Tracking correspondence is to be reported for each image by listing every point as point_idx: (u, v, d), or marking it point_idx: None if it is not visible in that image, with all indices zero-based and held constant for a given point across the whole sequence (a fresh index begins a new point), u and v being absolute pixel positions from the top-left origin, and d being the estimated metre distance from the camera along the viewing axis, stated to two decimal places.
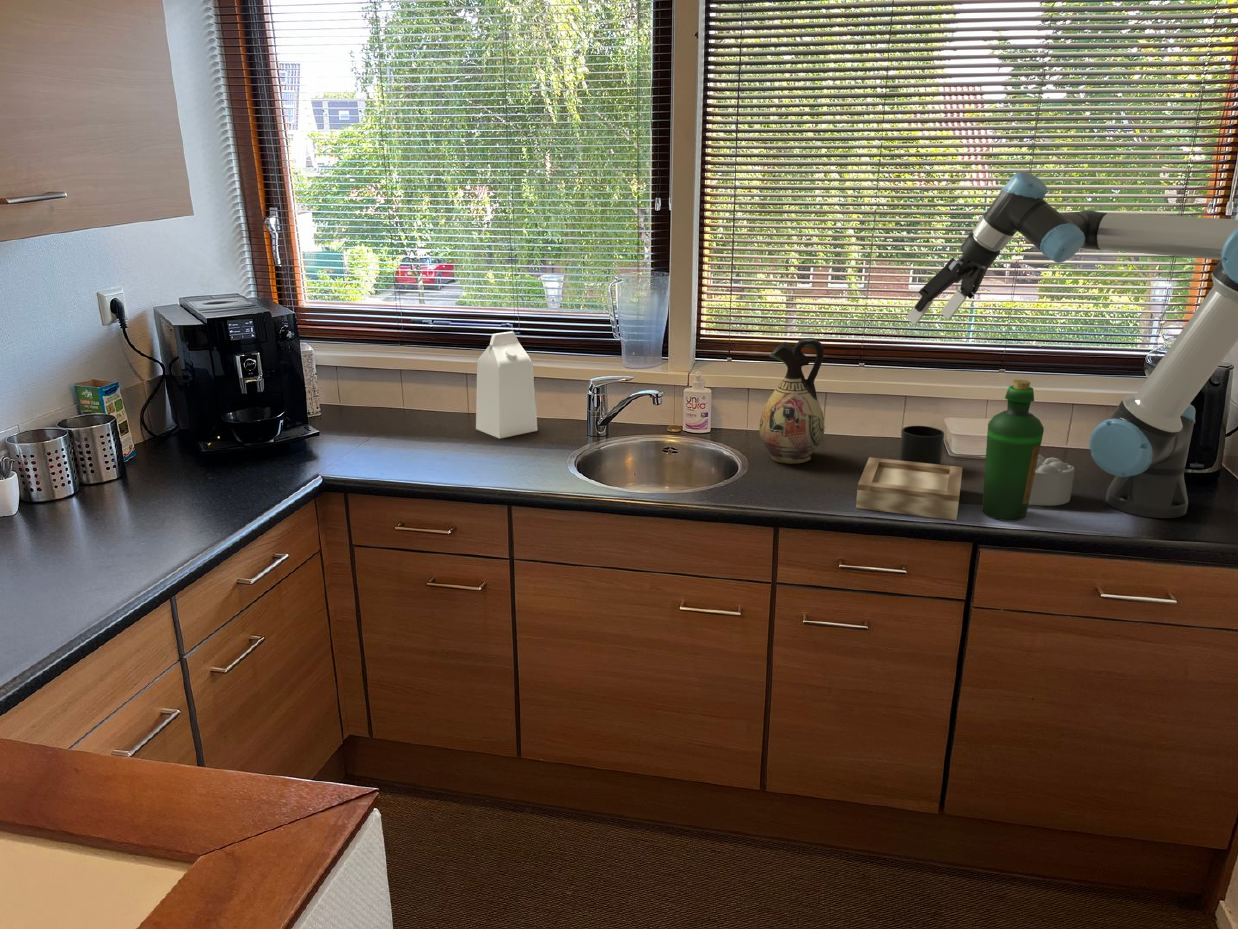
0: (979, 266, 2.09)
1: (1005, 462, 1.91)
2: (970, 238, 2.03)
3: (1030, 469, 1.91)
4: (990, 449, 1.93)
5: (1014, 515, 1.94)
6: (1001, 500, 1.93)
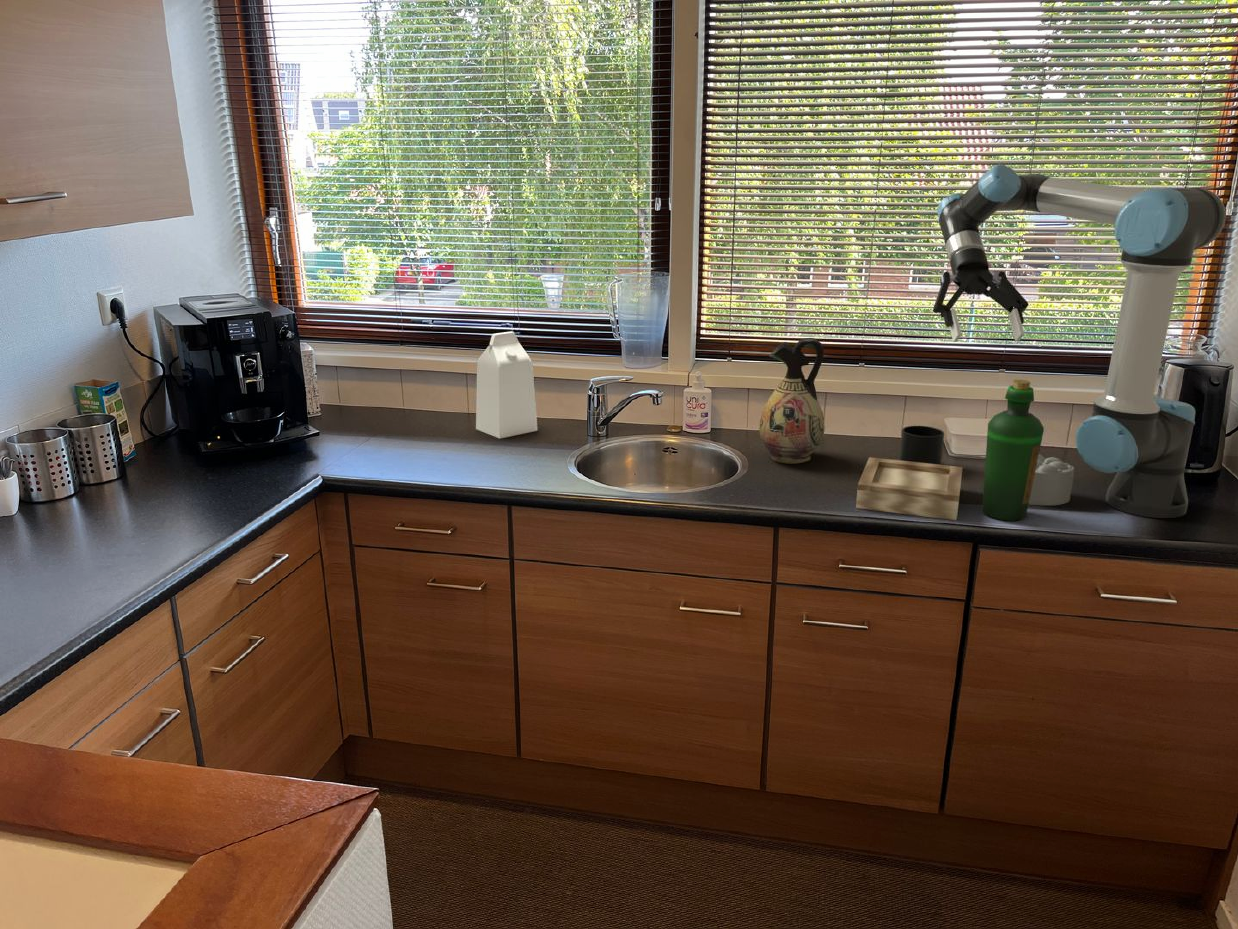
0: (986, 275, 2.08)
1: (1005, 462, 1.91)
2: None
3: (1030, 469, 1.91)
4: (990, 449, 1.93)
5: (1014, 515, 1.94)
6: (1001, 500, 1.93)
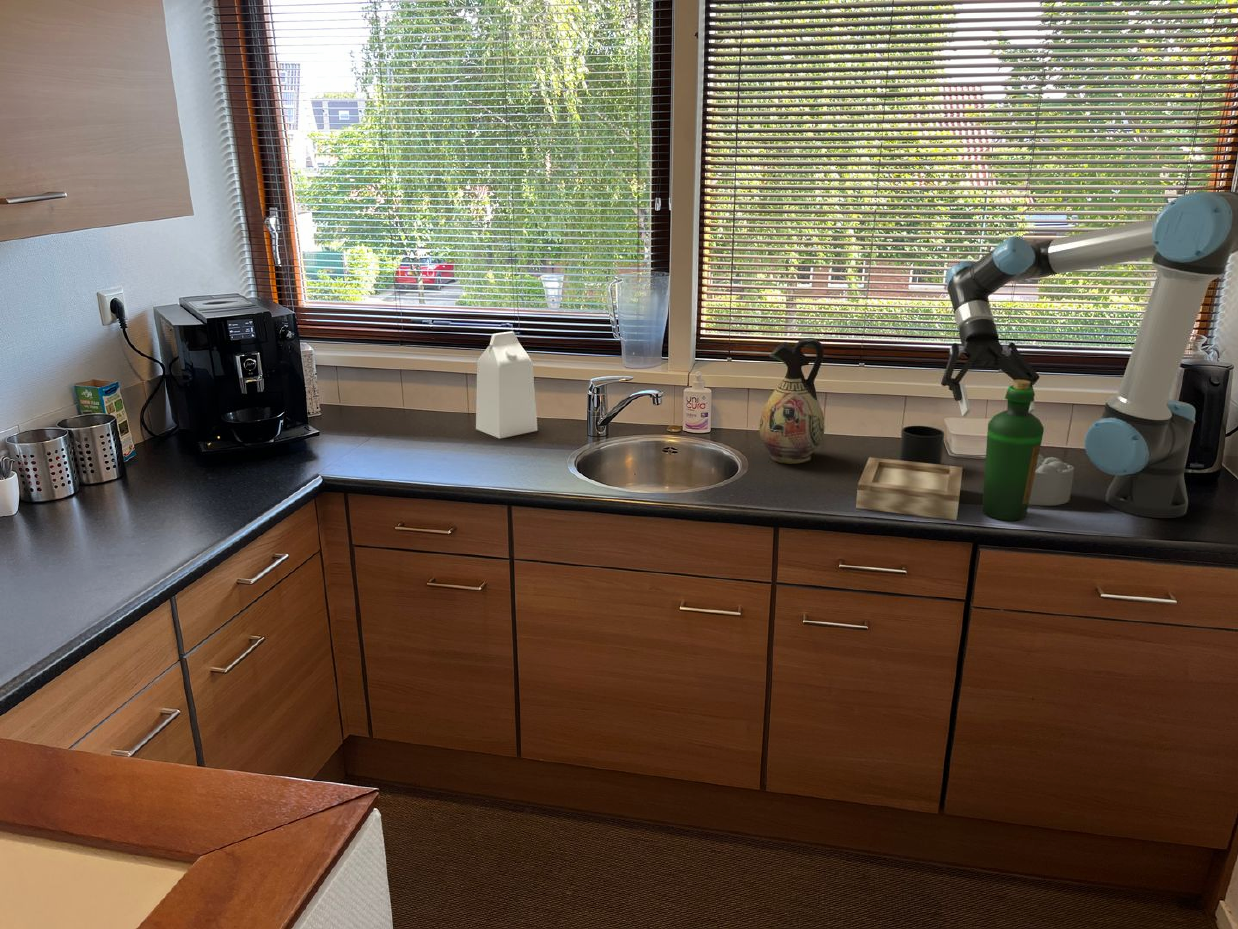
0: (996, 347, 2.04)
1: (1005, 462, 1.91)
2: None
3: (1030, 469, 1.91)
4: (990, 449, 1.93)
5: (1014, 515, 1.94)
6: (1001, 500, 1.93)
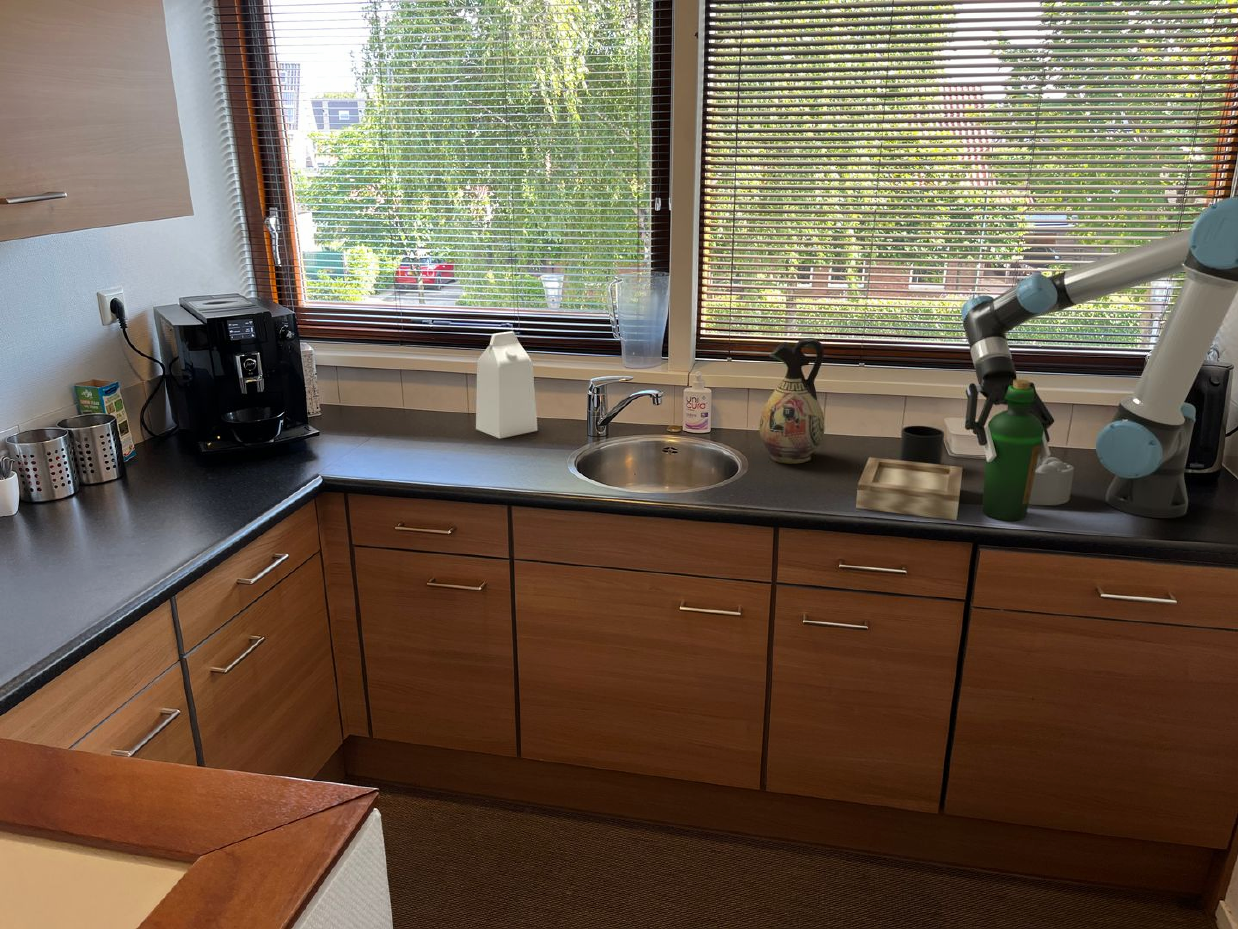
0: None
1: (1005, 462, 1.91)
2: None
3: (1030, 469, 1.91)
4: None
5: (1014, 514, 1.94)
6: (1001, 500, 1.93)
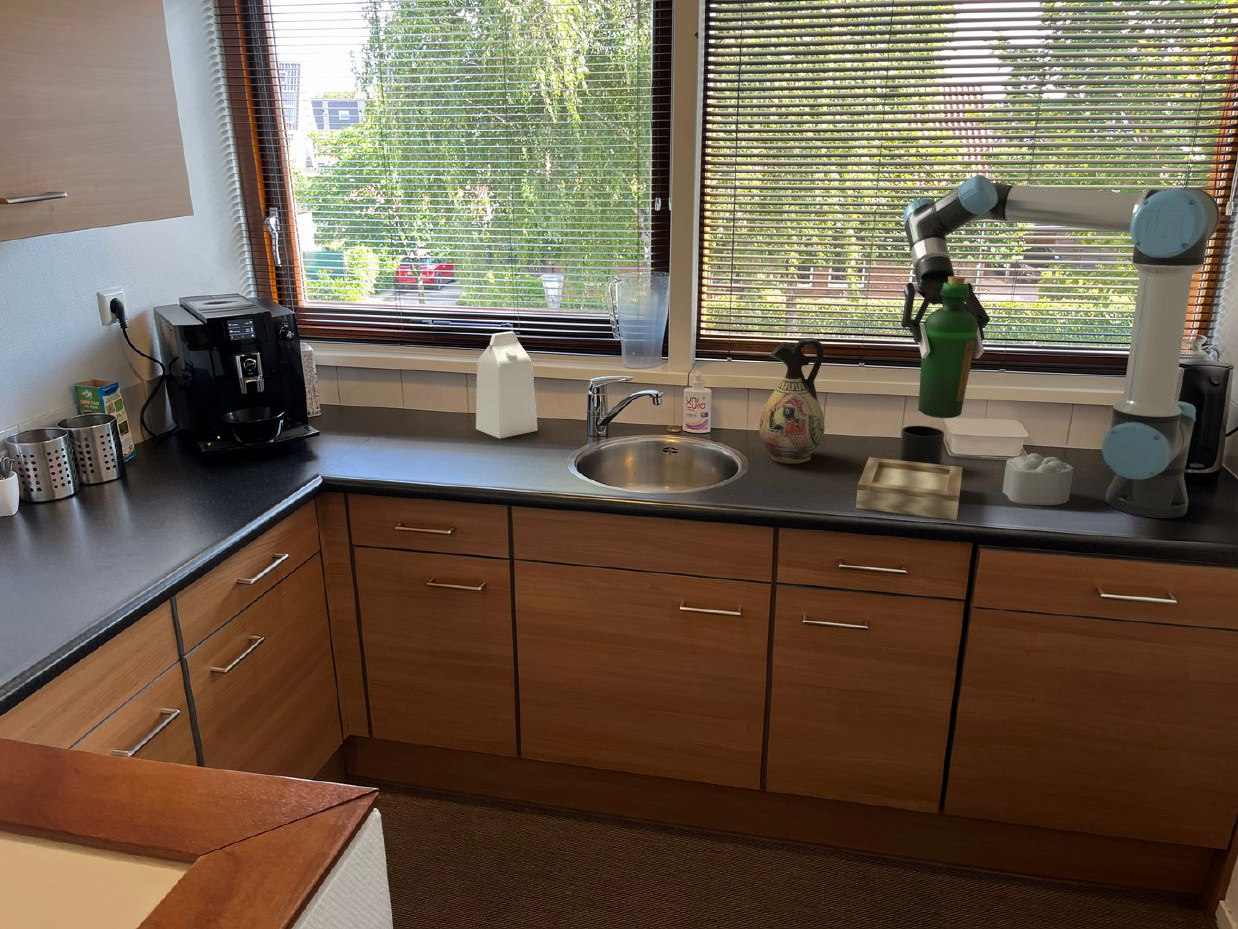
0: None
1: (939, 358, 1.92)
2: None
3: (964, 365, 1.92)
4: None
5: (948, 412, 1.95)
6: (935, 397, 1.95)
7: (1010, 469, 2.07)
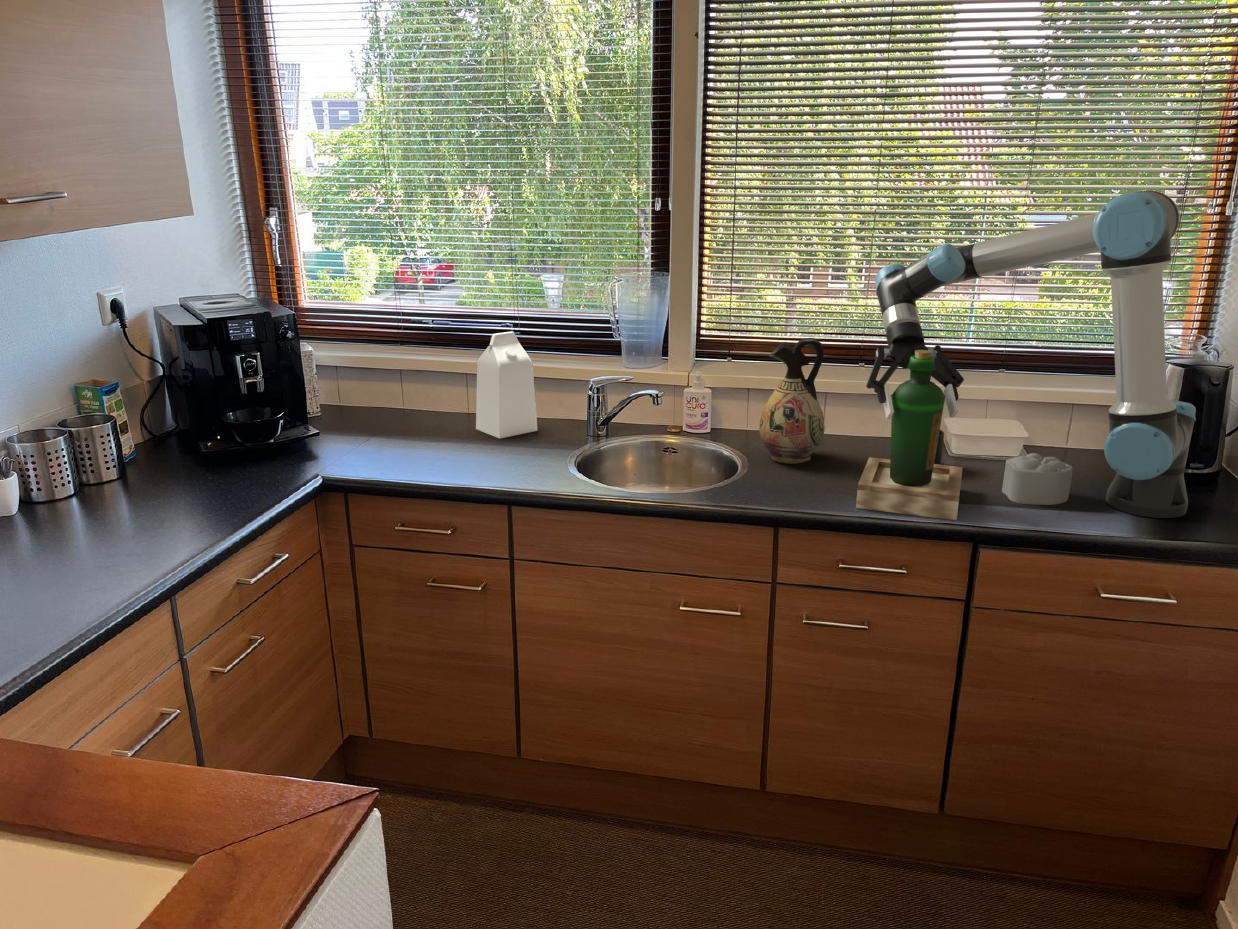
0: (922, 349, 2.05)
1: (907, 429, 1.98)
2: None
3: (931, 435, 1.98)
4: (894, 416, 2.01)
5: (917, 480, 2.02)
6: (905, 466, 2.01)
7: (1010, 469, 2.08)
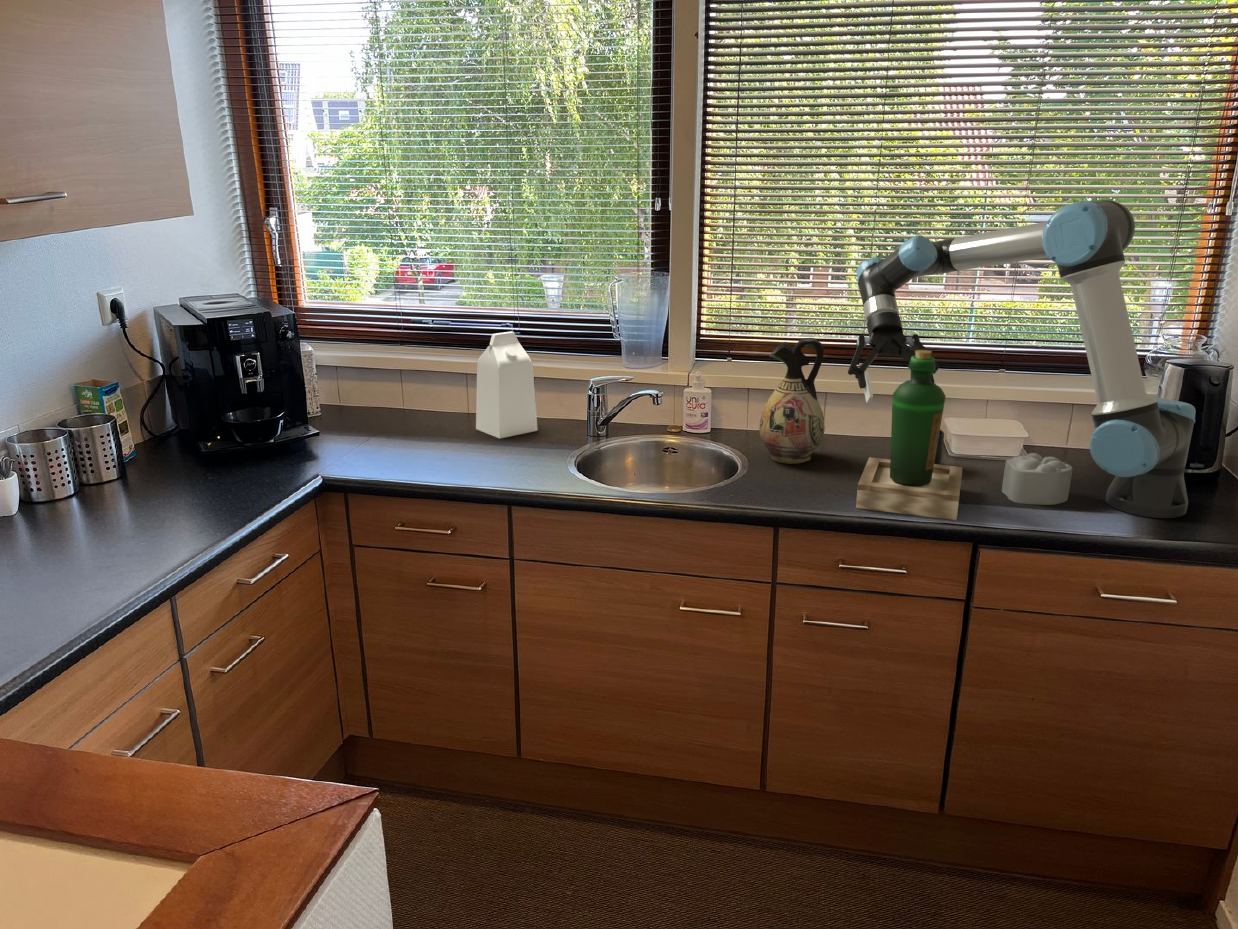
0: (900, 338, 2.17)
1: (908, 429, 1.98)
2: None
3: (932, 435, 1.98)
4: (894, 416, 2.01)
5: (917, 480, 2.02)
6: (905, 466, 2.01)
7: (1009, 469, 2.08)
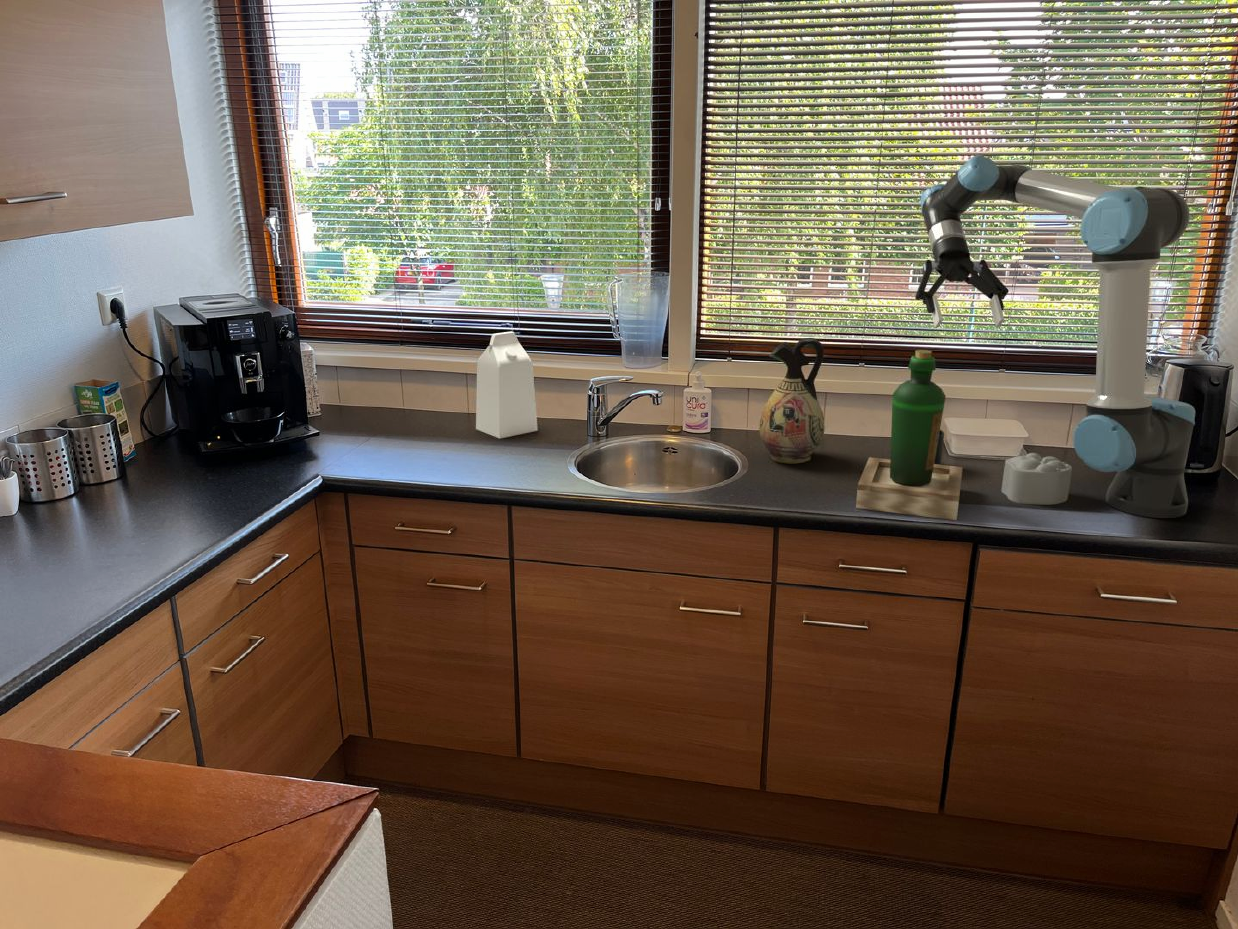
0: (968, 263, 2.14)
1: (908, 429, 1.98)
2: None
3: (932, 435, 1.98)
4: (894, 416, 2.01)
5: (917, 480, 2.02)
6: (905, 466, 2.01)
7: (1009, 469, 2.08)
